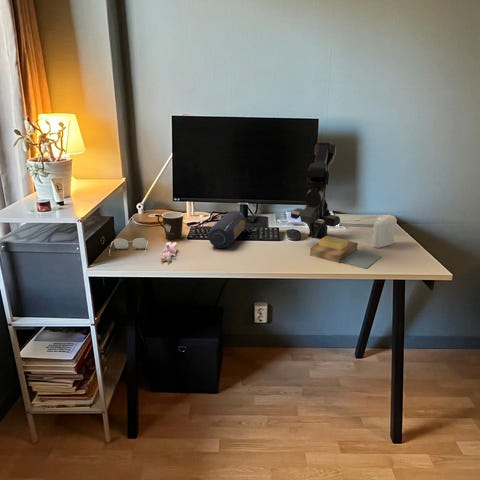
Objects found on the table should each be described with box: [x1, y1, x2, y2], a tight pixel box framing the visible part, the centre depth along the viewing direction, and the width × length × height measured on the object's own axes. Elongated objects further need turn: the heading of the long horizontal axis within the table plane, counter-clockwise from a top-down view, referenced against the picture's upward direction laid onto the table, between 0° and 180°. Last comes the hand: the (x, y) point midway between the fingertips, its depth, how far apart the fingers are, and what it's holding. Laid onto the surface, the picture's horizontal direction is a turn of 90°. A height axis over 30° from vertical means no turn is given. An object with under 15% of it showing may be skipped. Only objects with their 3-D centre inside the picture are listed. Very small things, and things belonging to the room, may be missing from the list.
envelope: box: [334, 213, 380, 228], centre depth 213 cm, size 24×2×14 cm
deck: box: [309, 240, 359, 264], centre depth 178 cm, size 12×16×3 cm
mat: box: [340, 249, 382, 270], centre depth 172 cm, size 10×14×1 cm
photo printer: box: [371, 214, 398, 249], centre depth 184 cm, size 10×4×12 cm, turn 123°
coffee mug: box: [157, 211, 184, 242], centre depth 192 cm, size 12×9×10 cm
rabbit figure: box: [159, 241, 178, 265], centre depth 173 cm, size 6×6×15 cm
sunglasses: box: [108, 237, 149, 257], centre depth 177 cm, size 14×8×5 cm, turn 92°
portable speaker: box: [208, 210, 247, 249], centre depth 189 cm, size 25×10×10 cm, turn 163°
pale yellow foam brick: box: [318, 235, 349, 250], centre depth 177 cm, size 9×6×2 cm, turn 54°
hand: (313, 238), depth 182 cm, fingers closed
